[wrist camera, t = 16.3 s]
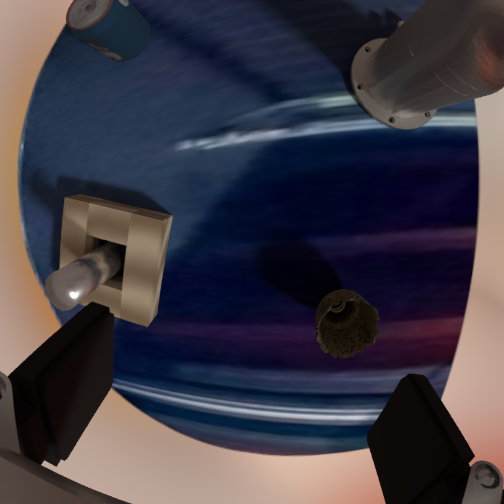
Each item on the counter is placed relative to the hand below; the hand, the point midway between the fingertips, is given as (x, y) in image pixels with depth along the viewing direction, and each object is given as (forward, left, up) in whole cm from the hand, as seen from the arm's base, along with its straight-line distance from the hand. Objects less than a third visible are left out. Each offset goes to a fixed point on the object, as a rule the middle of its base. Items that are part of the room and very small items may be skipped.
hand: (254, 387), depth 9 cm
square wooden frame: (+9, -18, -30) cm, 36 cm away
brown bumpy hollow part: (+8, +12, -31) cm, 34 cm away
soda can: (-20, -23, -31) cm, 43 cm away
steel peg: (+9, -18, -30) cm, 36 cm away
